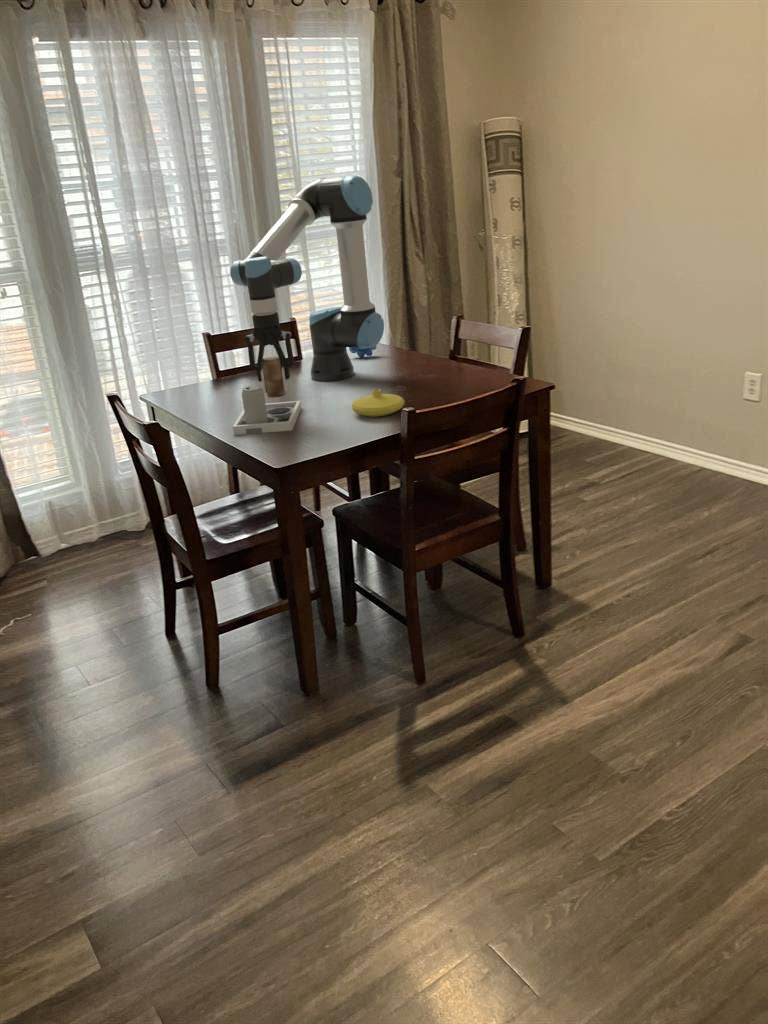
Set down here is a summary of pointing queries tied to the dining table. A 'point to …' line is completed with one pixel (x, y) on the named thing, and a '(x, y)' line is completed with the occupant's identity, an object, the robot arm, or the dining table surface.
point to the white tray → (271, 419)
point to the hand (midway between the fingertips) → (275, 390)
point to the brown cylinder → (273, 377)
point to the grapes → (362, 351)
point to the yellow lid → (378, 404)
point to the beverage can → (254, 405)
